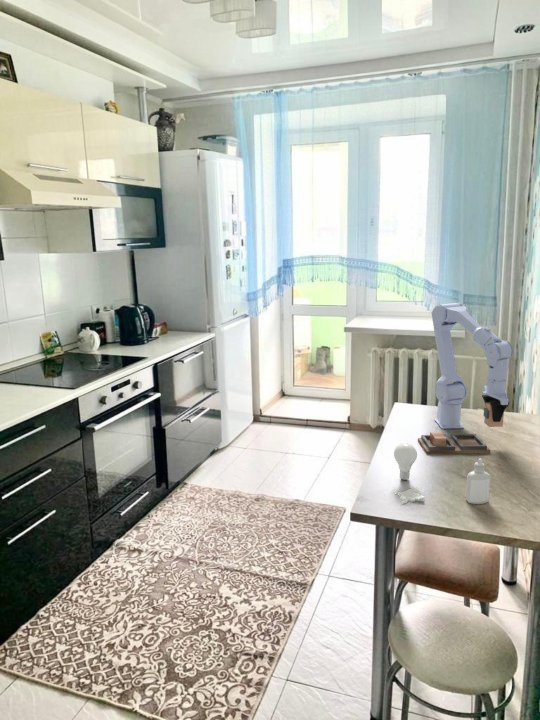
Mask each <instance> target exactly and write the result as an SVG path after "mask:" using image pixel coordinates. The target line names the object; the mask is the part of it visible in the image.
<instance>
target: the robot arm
mask: <svg viewBox="0 0 540 720" xmlns="http://www.w3.org/2000/svg"><path fill="white" fill-rule="evenodd" d="M467 310H468V309H467V307H466V306H465V305H464V304H463V303H461V302H459V301H457V302H453V303H452V302H451V303H442V304H436V305H435V306H434V307H433V309H432V311H431V317H432V323H433V332H434V333H433V334H434V338H435V344H436V351H437V352H436V353H437V357H438V363H439V369H440V377H439V378H438V379H437V381H435V387H436V388H435V395H436V399H437V400H438V403H437V413H436V414H437V416H436V417H435V418H434V421H435V422H436V424H437V425H438V426H439V428H441V429H443V430H444V429H447V430H448V429H464V428H465V426H464V425H463V424H462V423H461V415H462V403H464V399H465V398H466V397H467V396H468V388H467V386H466V383H465V380H464V378H463V377H462V376H461V375H459V374H458V372H457V366H456V365H457V364H456V359H455V353H454V347H453V345H454V344H453V340H452V334H451V331H452V328H453V327H455V326H456V325H458V324H459V325H460V326H462V327H463V328H464V329H465V330H466V331H468V332H469V333H470V334H472V339H473V341H474V342H475V343H476V344H477V345H479V347H480V348H481V349H482V350H484V354H485V357H486V361H487V362H486V363H487V378H486V385H484V386H483V391H482V395H481V397H482V399H483V402H484V405H486V402H490V405H491V408H492V418H493V422H500V421H501V418H502V415H503V413H505V411H506V409H507V407H508V406H509V405H510V402H509V398H508V395H507V391H506V390H507V379H508V370H509V369H508V368H509V359H511V358H512V357H513V355H514V348H513V347H514V346H513V345H512V343H511V342H510V341H509V340H503V339H501V338H500V337H499V336H497V335H496V334H495V333H494V332H493V331H492V330H491V328H490V327H489V326H488V327H487V326H481V325H480V323H478V322H477V321H476V320H475V319H474V318H473V317H472V315H470V314H469V312H468V311H467Z"/></svg>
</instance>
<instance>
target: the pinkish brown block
mask: <svg viewBox="0 0 540 720" xmlns="http://www.w3.org/2000/svg"><path fill="white" fill-rule="evenodd" d="M484 405H485V404H484ZM504 413H505V412H504ZM504 413H503V415H502V418H501V421H500V422H493V418H492V408H491V405H490V402H486V405H485V406H484V408H483V417H484V418H483V419H484V424H485V425H486V426H487V427H488V428H496V427H497V428H499V427H501V428H502V427H503V426H504V416H505V414H504Z"/></svg>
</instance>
